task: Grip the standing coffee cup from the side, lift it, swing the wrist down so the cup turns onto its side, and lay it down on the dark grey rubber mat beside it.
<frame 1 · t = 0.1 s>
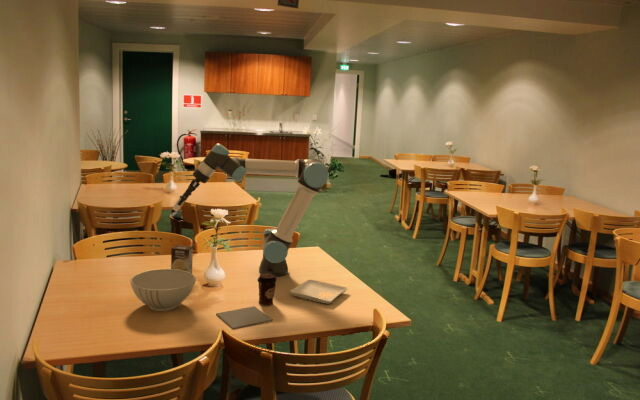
hand: (176, 206, 268), 36 cm above the table, tool tilted 35°, fingers open, 13 cm apart
decorative bowl: (163, 306, 242), on the table
rubber mat: (244, 317, 234), on the table
salad plate: (318, 296, 264), on the table
coffee box: (181, 278, 276), on the table
coffee cup: (266, 303, 251), on the table
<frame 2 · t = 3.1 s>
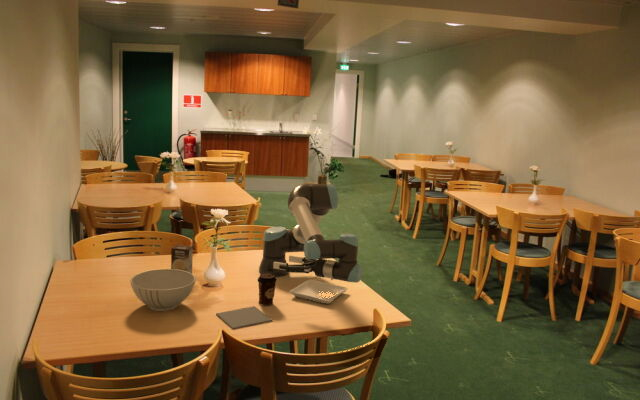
hand: (281, 261, 244), 21 cm above the table, tool horizontal, fingers open, 13 cm apart
nothing on the table moved.
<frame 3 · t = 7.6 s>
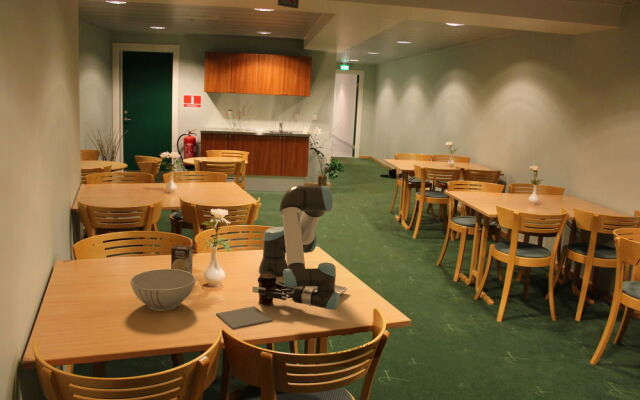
hand: (257, 286, 251), 7 cm above the table, tool horizontal, fingers closed on coffee cup, 8 cm apart
coffee cup: (266, 303, 251), on the table, touching gripper
everything else where it was.
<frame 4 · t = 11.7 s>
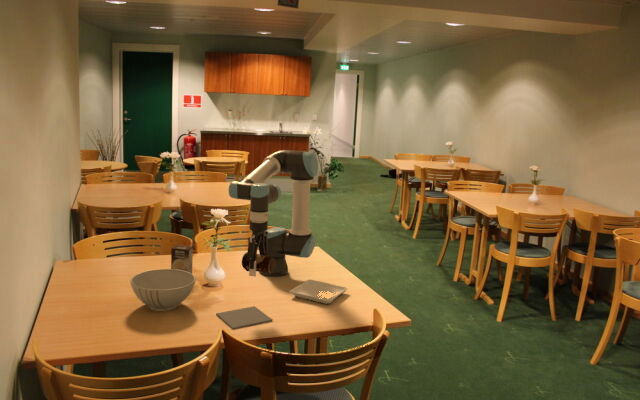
hand: (256, 273, 239), 17 cm above the table, tool pointing down, fingers closed on coffee cup, 7 cm apart
coffee cup: (273, 265, 235), point 22 cm above the table, touching gripper
everything else where it was.
when the fingers open (2 cm above the table, at t = 15.3 s): coffee cup drops 3 cm, resting on rubber mat.
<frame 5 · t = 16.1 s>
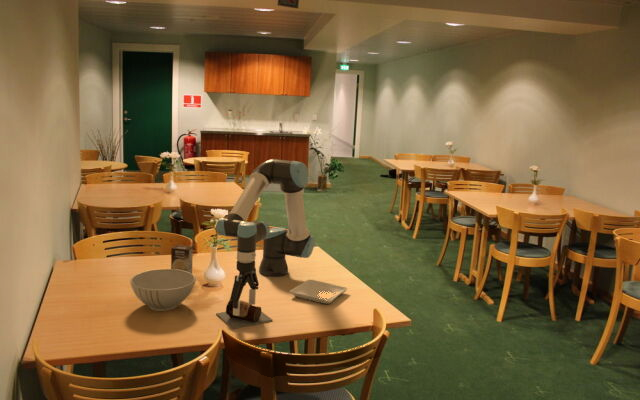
hand: (244, 309, 233), 4 cm above the table, tool pointing down, fingers open, 13 cm apart
coffee cup: (258, 314, 228), point 4 cm above the table, touching gripper, rubber mat
everything else where it was.
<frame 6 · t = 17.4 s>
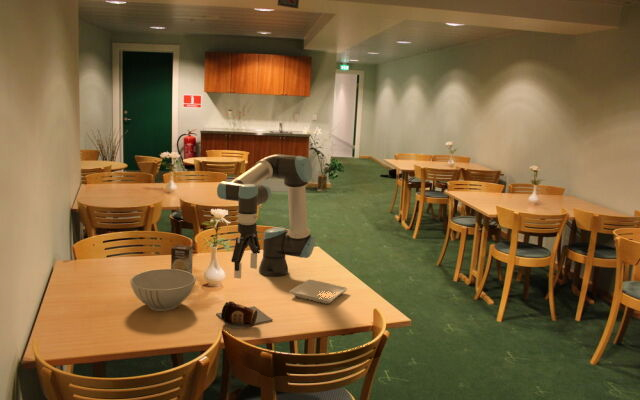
hand: (245, 273, 230), 20 cm above the table, tool pointing down, fingers open, 13 cm apart
coffee cup: (255, 318, 225), point 4 cm above the table, touching rubber mat
everything else where it was.
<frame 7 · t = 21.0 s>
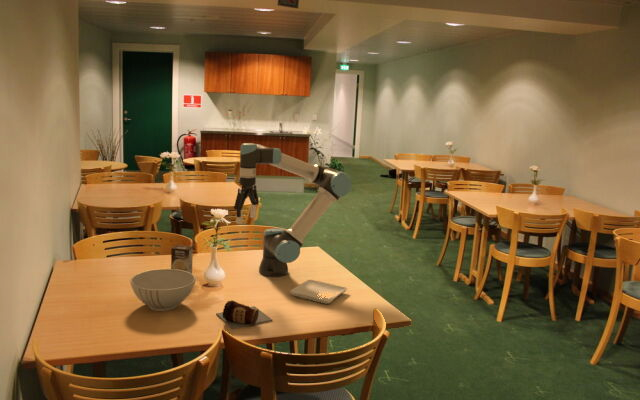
hand: (246, 220, 267), 32 cm above the table, tool pointing down, fingers open, 13 cm apart
coffee cup: (256, 317, 226), point 4 cm above the table, touching rubber mat
everything else where it was.
at the end: coffee cup tilted 86°; coffee cup 9.7 cm from the rubber mat (horizontally); the gripper is holding nothing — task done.
